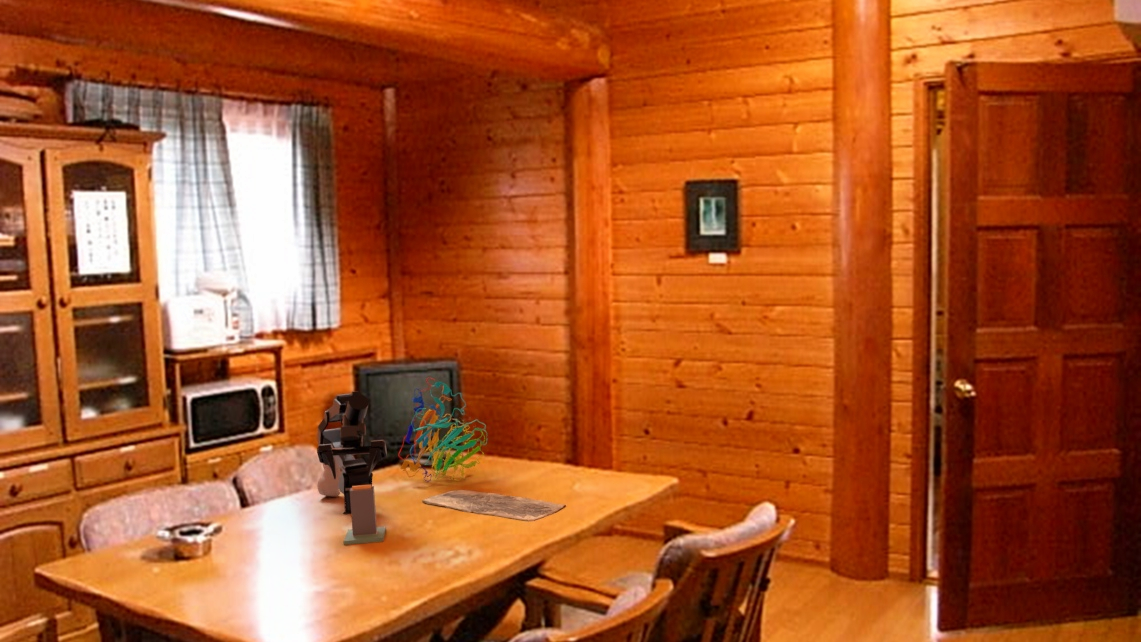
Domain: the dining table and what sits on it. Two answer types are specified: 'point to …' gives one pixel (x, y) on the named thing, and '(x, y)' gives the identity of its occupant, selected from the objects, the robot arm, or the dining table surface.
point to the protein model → (435, 440)
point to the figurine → (329, 481)
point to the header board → (365, 537)
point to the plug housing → (363, 510)
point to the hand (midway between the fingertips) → (351, 476)
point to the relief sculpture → (495, 504)
